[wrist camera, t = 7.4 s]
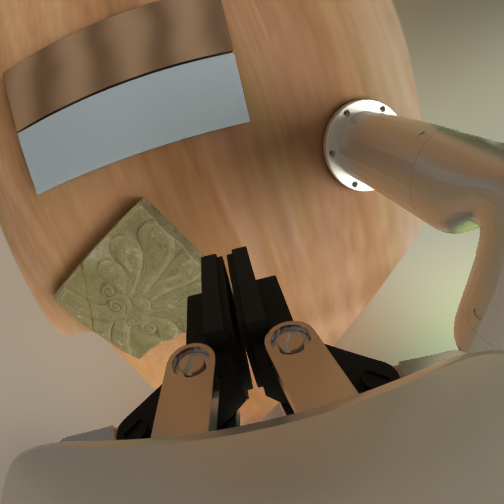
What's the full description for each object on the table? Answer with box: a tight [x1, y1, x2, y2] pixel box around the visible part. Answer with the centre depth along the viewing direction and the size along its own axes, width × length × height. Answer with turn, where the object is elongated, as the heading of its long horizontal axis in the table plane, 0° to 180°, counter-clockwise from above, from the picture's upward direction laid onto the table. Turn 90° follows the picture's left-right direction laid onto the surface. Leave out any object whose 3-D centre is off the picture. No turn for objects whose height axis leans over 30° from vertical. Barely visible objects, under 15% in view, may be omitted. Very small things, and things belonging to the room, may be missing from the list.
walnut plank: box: [3, 0, 233, 132], centre depth 25 cm, size 26×8×2 cm, turn 102°
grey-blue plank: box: [18, 53, 250, 195], centre depth 29 cm, size 26×8×2 cm, turn 102°
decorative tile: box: [54, 198, 233, 359], centre depth 40 cm, size 19×20×4 cm
